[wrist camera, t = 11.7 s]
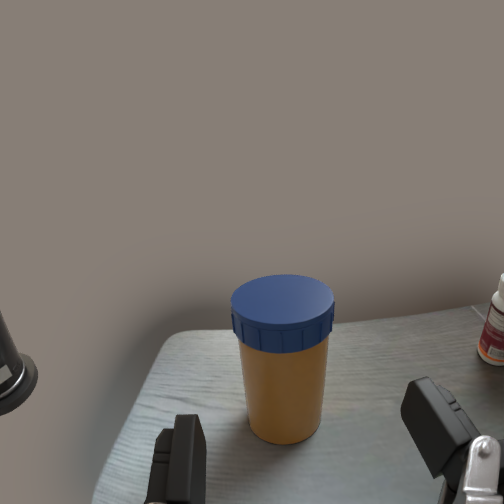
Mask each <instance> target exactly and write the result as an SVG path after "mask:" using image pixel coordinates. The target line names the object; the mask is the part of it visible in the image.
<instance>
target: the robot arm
mask: <svg viewBox="0 0 504 504" xmlns="http://www.w3.org/2000/svg"><path fill="white" fill-rule="evenodd" d="M25 376H26V365H25V363H24V361H23V359H22V358H21V357H20V355H19V353H18V351H17V348H16V346H15V344H14V342H13V340H12V337H11V335H10V333H9V331H8V328H7V326H6V324H5V322H4V319H3V317H2V314H1V312H0V401H1V400H3V399H5V398H7V397H8V396H10V395H11V394H12V393H13V392H15V391H16V390H17V389H18V388H19V386H20V385H21V384H22V382H23V380H24V378H25ZM401 417H402V420H403V422H404V424H405V425H406V427H407V429H408V431H409V433H410V435H411V436H412V438H413V440H414V442H415V444H416V446H417V448H418V450H419V451H420V453H421V455H422V457H423V459H424V461H425V463H426V465H427V467H428V469H429V471H430V473H431V475H432V477H433V478H434V479H435V478H437V477H439V476H441V475H444V477H445V480H444V482H443V485H442V489H441V492H440V496H439V499H438V503H437V504H504V439H503V440H498V441H497V440H496V439H495V438H493V437H491V436H487V435H484V436H482V435H481V434H480V433H479V431H478V430H477V429H476V427H475V426H474V424H473V423H472V421H471V420H470V419H469V417H468V416H467V414H466V413H465V412H464V410H463V409H461V406H460V405H459V403H458V402H456V399H455V398H454V397H453V395H452V394H451V393H450V391H448V390H447V389H445V388H444V387H442V386H441V385H439V386H436V385H435V384H434V382H433V381H432V380H431V378H429V377H423V378H420V379H417V380H414V381H411V382H410V383H409V384H408V387H407V390H406V393H405V396H404V399H403V402H402V405H401ZM206 454H207V449H206V440H205V436H204V433H203V430H202V427H201V423H200V420H199V417H198V415H197V414H188V415H176V418H175V424H174V429H163V430H162V432H161V433H160V434H159V436H158V437H157V439H156V443H155V448H154V454H153V460H152V461H153V463H152V466H151V472H150V478H149V484H148V491H147V497H146V500H145V502H144V504H205V493H206Z"/></svg>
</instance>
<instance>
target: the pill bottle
mask: <svg viewBox="0 0 504 504" xmlns="http://www.w3.org/2000/svg"><path fill="white" fill-rule="evenodd" d="M478 353H479V355H480V356H481V358H482V359H483V360H484V361H486V362H487V363H489V364H492V365H495V366H503V365H504V273H503V274H502V275H501V278H500V282H499V286H498V291H497V292H496V293H495V294H494V295H493V297H492V300H491V305H490V308H489V312H488V315H487V319H486V322H485V325H484V328H483V332H482V335H481V338H480V341H479V344H478Z"/></svg>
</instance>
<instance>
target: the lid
mask: <svg viewBox="0 0 504 504" xmlns="http://www.w3.org/2000/svg"><path fill="white" fill-rule="evenodd" d="M334 303H335V302H334V295H333V292H332V291H331V289H330V288H329V287H328V286H327V285H325V284H324V283H323V282H320V281H319V280H316V279H313V278H310V277H305V276H299V275H273V276H266V277H261V278H257V279H254V280H252V281H249V282H247V283H245V284H243V285H242V286H240V287H239V288H238V289H236V290H235V292H234V293H233V295H232V297H231V311H232V314H231V316H232V324H233V332H234V333H235V334H236V336H237V337H238V339H239V340H240V341H241V342H242V343H244V344H245V345H247V346H249V347H251V348H253V349H256V350H259V351H263V352H268V353H277V354H282V353H294V352H299V351H303V350H306V349H309V348H312V347H314V346H316V345H318V344H319V343H321V342H322V341H323V340H324V339H325V338H326V337H327V336H328V335H329V333H330V332H332V322H333V320H334Z"/></svg>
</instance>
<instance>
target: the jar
mask: <svg viewBox="0 0 504 504" xmlns="http://www.w3.org/2000/svg"><path fill="white" fill-rule="evenodd" d="M328 340H329V335H328V336H327V337H326V338H325V339H324V340H323V341H322V342H321V343H319V344H318V345H316V346H314V347H312V348H309V349H306V350H303V351H299V352H294V353H282V354H277V353H268V352H263V351H259V350H256V349H253V348H251V347H249V346H247V345H245V344H244V343H242V342H241V341H240V340H239V339H238V342H239V350H240V358H241V366H242V374H243V382H244V389H245V397H246V405H247V412H248V419H249V425H250V427H251V429H252V431H253V432H254V433H255V434H256V435H257V436H258V437H259V438H261V439H262V440H265V441H267V442H270V443H273V444H280V445H287V444H294V443H298V442H300V441H303V440H305V439H307V438H308V437H310V436H311V435H312V434H313V433H314V432H315V431H316V430H317V428H318V426H319V424H320V421H321V413H322V404H323V395H324V386H325V376H326V365H327V353H328Z"/></svg>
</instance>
